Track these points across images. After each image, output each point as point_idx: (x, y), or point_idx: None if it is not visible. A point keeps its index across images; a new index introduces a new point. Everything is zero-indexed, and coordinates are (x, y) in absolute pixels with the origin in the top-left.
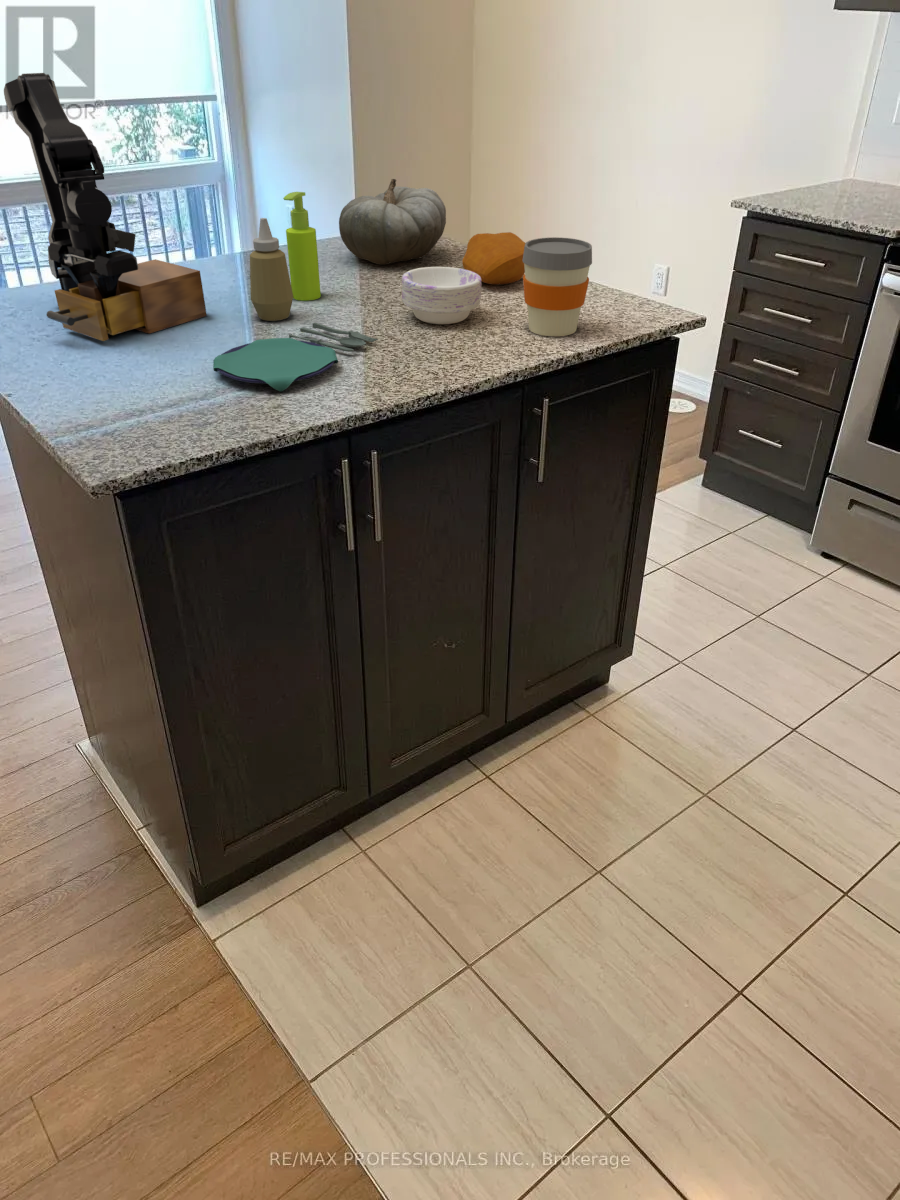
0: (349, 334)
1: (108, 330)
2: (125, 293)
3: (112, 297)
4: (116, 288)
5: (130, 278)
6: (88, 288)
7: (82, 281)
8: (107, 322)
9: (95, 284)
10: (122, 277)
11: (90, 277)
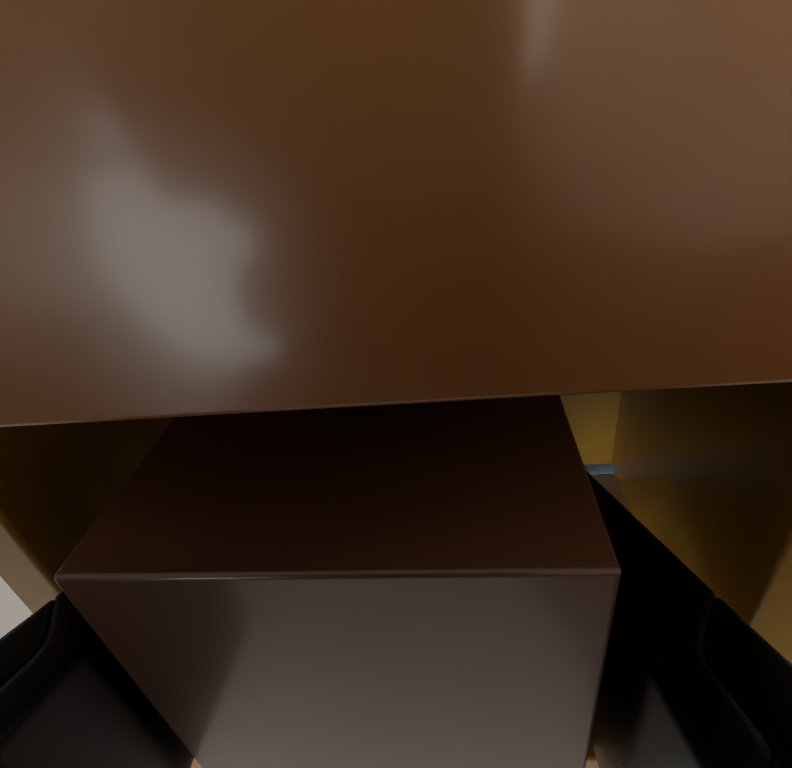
0: None
1: (601, 461)
2: None
3: (784, 646)
4: (742, 619)
5: (379, 32)
6: None
7: (168, 765)
8: (632, 507)
9: (404, 747)
10: (103, 190)
11: (87, 729)
